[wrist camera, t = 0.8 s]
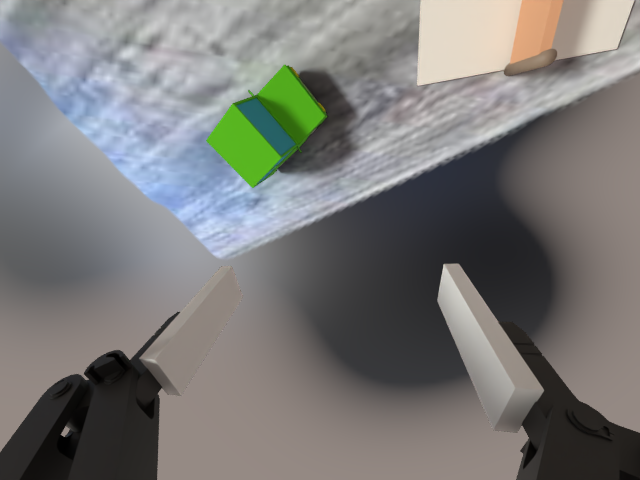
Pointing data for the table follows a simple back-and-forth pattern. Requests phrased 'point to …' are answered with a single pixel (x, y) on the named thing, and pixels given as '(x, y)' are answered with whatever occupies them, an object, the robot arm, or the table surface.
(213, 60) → the table surface
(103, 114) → the table surface
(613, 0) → the card
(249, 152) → the toy car
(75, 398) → the robot arm
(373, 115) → the table surface
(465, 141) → the table surface
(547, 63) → the panel
